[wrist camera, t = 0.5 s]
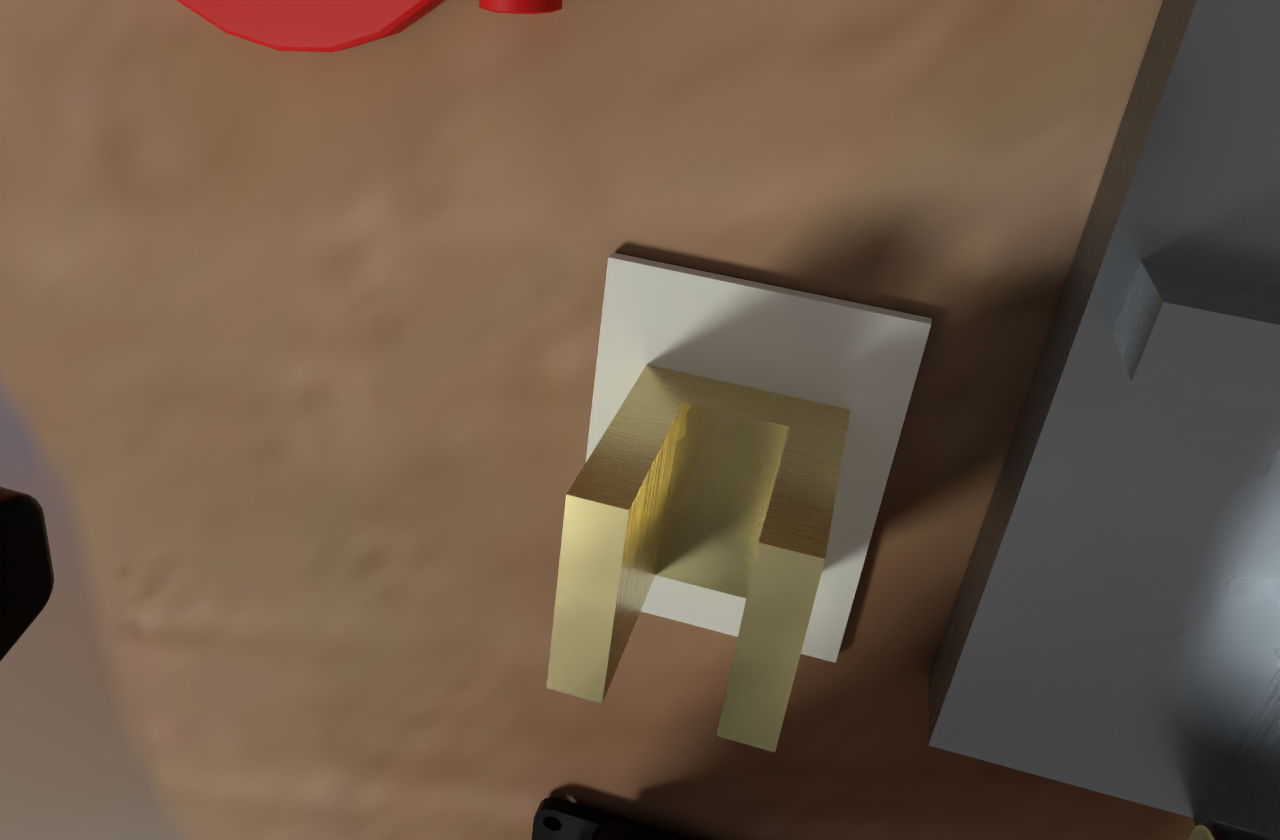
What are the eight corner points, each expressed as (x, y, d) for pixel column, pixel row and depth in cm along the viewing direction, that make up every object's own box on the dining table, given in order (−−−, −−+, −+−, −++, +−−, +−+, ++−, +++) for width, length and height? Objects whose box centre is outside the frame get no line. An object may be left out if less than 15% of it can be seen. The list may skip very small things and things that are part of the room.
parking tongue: (836, 653, 22) (835, 662, 22) (575, 585, 23) (571, 592, 23) (931, 318, 18) (931, 324, 18) (613, 252, 19) (608, 257, 19)
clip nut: (808, 578, 21) (774, 752, 17) (623, 531, 22) (546, 688, 18) (850, 409, 19) (824, 559, 15) (646, 364, 20) (566, 494, 16)
